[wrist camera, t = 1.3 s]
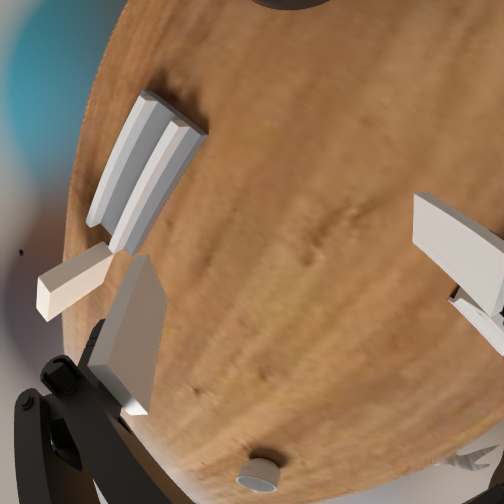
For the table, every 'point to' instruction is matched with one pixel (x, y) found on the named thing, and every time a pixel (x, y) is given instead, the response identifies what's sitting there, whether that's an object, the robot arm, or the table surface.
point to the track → (143, 171)
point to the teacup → (259, 475)
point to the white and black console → (481, 319)
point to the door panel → (72, 280)
